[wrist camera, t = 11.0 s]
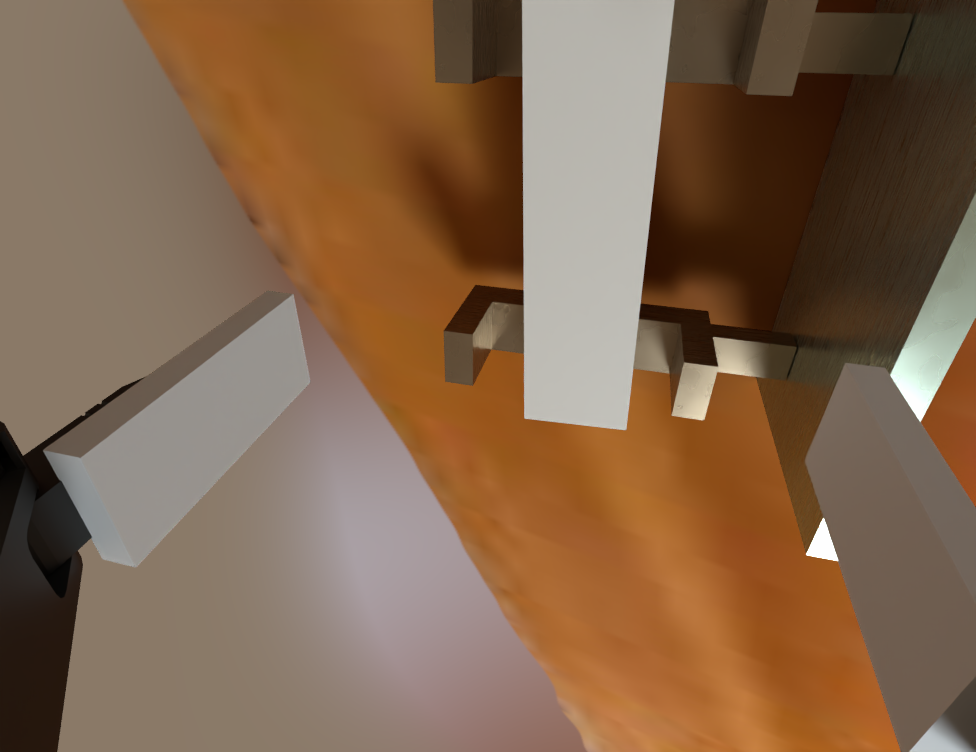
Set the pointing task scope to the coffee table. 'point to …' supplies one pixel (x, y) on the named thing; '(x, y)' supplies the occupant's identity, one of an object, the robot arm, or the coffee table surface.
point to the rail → (587, 198)
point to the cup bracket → (832, 219)
